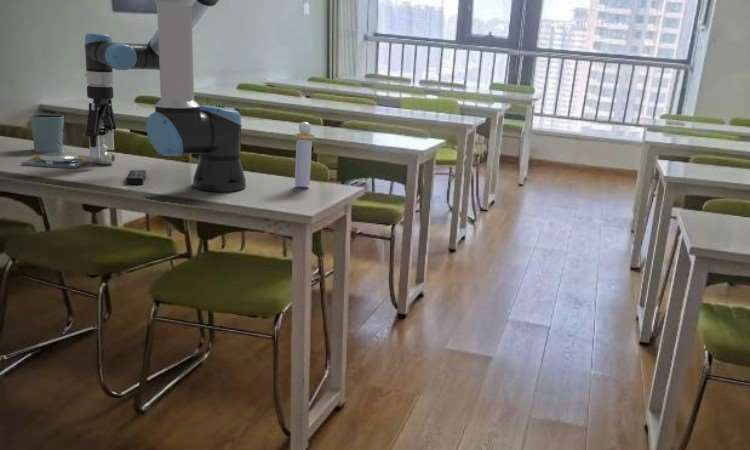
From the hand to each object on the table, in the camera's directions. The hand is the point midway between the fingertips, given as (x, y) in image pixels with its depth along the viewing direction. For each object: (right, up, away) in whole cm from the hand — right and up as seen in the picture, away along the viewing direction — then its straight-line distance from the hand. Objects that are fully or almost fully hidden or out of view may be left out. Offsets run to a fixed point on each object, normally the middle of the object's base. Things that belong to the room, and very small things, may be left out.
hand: (102, 153), depth 207 cm
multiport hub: (+17, -10, -16) cm, 25 cm away
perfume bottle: (+64, -12, -8) cm, 66 cm away
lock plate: (-13, -3, -1) cm, 13 cm away
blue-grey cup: (-24, +2, +14) cm, 28 cm away
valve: (0, -4, +1) cm, 4 cm away
